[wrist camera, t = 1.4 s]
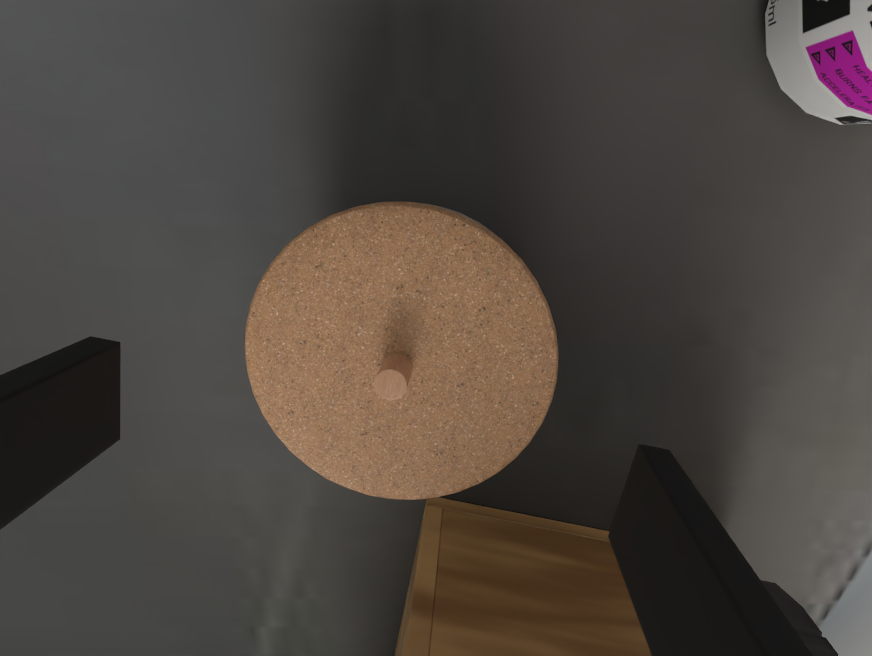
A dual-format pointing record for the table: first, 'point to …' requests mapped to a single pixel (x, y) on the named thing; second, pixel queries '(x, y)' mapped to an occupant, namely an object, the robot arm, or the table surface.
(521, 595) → the chest
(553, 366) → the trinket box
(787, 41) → the supplement can
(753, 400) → the table surface
